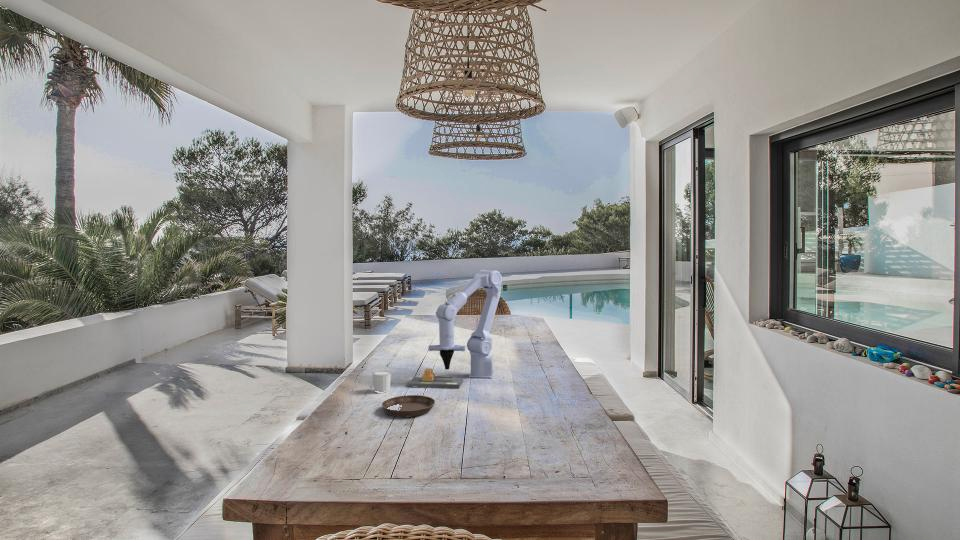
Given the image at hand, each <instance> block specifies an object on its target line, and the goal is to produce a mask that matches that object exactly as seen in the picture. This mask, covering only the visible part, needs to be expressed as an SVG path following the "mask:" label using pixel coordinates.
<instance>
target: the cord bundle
mask: <svg viewBox="0 0 960 540" xmlns="http://www.w3.org/2000/svg"><path fill="white" fill-rule="evenodd" d="M435 378H454V377H453V376H437V375H435Z"/></svg>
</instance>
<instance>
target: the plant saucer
mask: <svg viewBox="0 0 960 540" xmlns="http://www.w3.org/2000/svg"><path fill="white" fill-rule="evenodd" d="M435 403H436V400H435V399H434V398H432V397H430V396H426V395H421V394H420V395H418V394H412V395H411V394H410V395H408V394H407V395H400V396H395V397H391V398H388V399H386V400H384V401H383V402H382V403H381V407H382V409H383V410H384V411H385V412H386V413H387V414H388V413H389V415H390V414H391V416H393V415H395V416H394V417H398V416H403V417H402V418H408V417H407V416H413V417H419V416H422V414H423V415H425V413H426V414H427V413H429V412H430V411H431V410H432V409H433V407H434V406H435ZM397 404H399V405H402V407H400V408H401V409H400V410H399V411H397V410H390V409H387V408H388V407H390V406H393V405H397ZM418 415H419V416H418Z"/></svg>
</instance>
